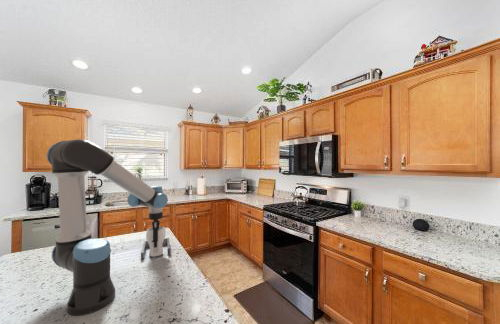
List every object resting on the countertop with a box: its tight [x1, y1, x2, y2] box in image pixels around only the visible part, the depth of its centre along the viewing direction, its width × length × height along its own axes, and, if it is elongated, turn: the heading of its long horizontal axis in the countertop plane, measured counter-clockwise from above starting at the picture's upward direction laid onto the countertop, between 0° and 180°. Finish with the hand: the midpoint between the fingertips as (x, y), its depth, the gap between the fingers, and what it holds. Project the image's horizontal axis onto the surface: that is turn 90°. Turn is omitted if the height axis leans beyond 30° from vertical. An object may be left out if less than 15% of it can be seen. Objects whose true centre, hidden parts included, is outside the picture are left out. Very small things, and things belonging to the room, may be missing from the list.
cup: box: [145, 225, 167, 257], centre depth 123 cm, size 11×11×15 cm
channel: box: [140, 237, 171, 261], centre depth 129 cm, size 19×15×4 cm
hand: (156, 248), depth 123 cm, fingers closed on cup, 11 cm apart
